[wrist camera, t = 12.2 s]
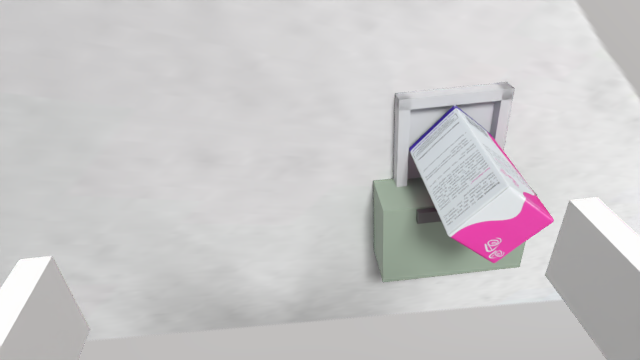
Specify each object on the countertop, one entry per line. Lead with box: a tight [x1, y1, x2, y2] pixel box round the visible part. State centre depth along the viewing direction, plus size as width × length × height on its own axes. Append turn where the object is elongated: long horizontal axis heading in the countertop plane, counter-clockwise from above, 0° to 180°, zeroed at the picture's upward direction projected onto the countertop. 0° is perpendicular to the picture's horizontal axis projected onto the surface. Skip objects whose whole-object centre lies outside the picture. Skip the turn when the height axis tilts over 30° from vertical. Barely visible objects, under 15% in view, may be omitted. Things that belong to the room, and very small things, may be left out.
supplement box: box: [409, 105, 554, 263], centre depth 36 cm, size 6×6×12 cm
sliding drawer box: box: [373, 82, 537, 282], centre depth 42 cm, size 14×18×6 cm
